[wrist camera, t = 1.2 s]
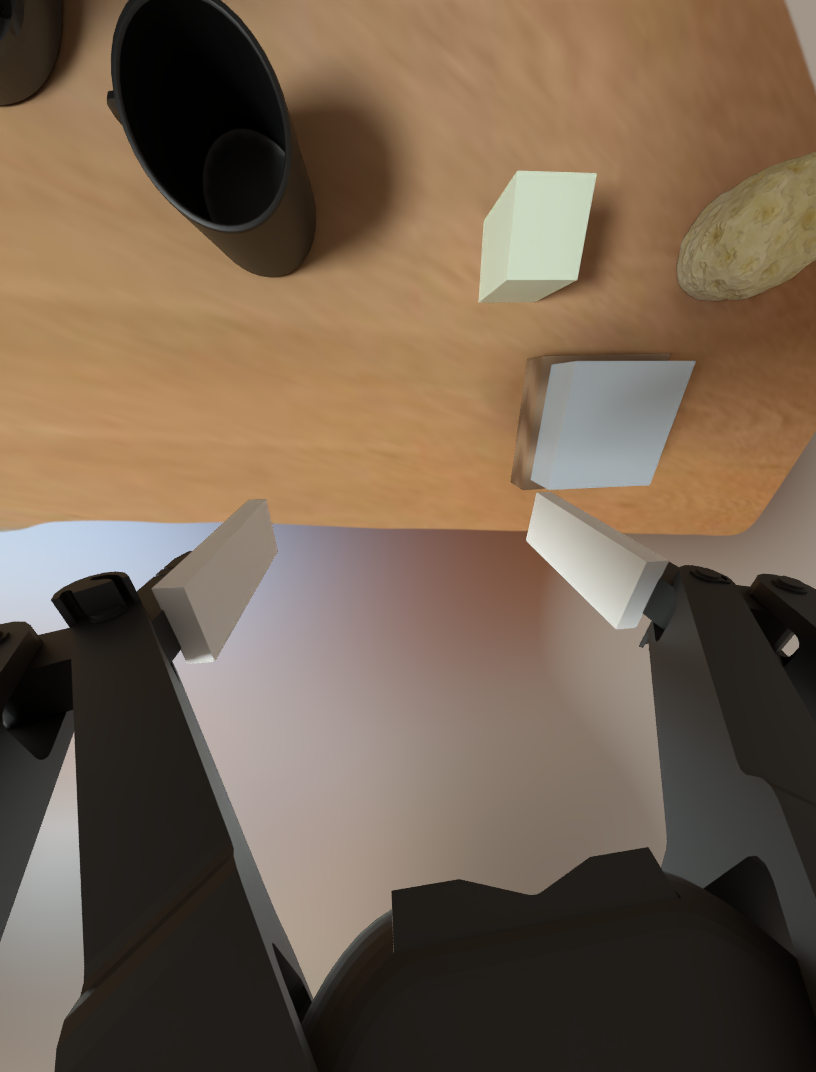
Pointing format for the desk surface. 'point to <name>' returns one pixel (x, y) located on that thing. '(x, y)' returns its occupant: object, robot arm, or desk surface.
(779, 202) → the decorative item
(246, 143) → the mug
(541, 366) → the bottom slab
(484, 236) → the block
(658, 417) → the top slab
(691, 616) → the robot arm
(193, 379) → the desk surface
